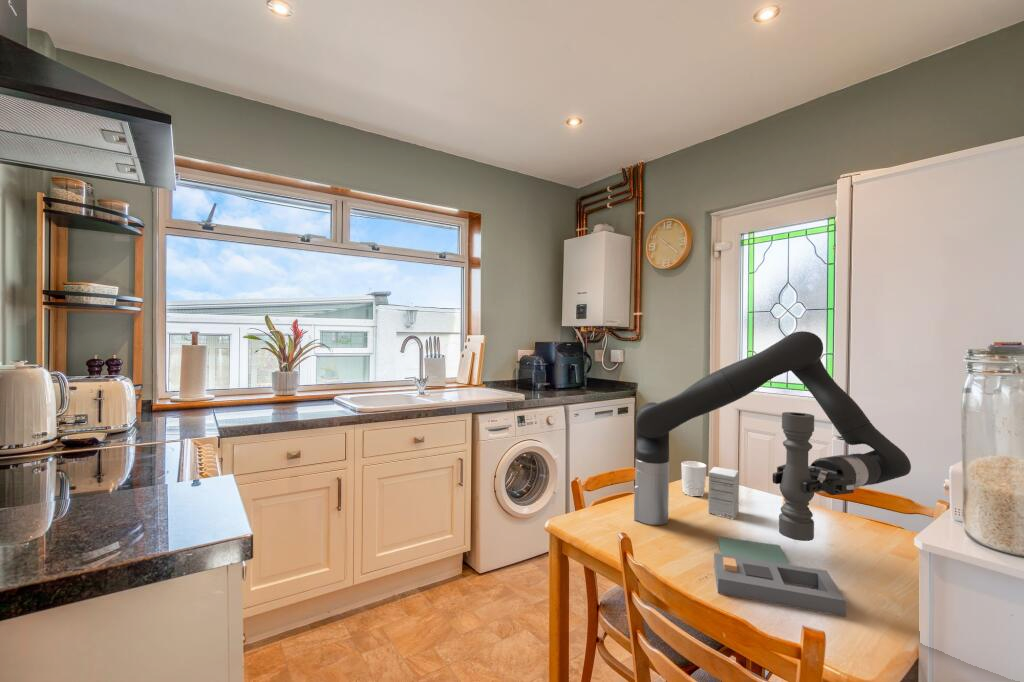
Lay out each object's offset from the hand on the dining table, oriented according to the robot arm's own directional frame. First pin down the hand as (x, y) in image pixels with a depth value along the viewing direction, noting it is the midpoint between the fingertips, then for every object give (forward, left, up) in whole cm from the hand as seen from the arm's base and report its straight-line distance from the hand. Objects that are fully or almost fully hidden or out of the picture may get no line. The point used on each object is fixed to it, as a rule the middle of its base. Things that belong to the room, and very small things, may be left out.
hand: (789, 483), depth 94 cm
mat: (-4, +16, -23) cm, 28 cm away
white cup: (-16, +58, -23) cm, 64 cm away
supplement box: (-8, +43, -23) cm, 49 cm away
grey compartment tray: (-2, +1, -23) cm, 23 cm away
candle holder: (+2, +2, -11) cm, 11 cm away
